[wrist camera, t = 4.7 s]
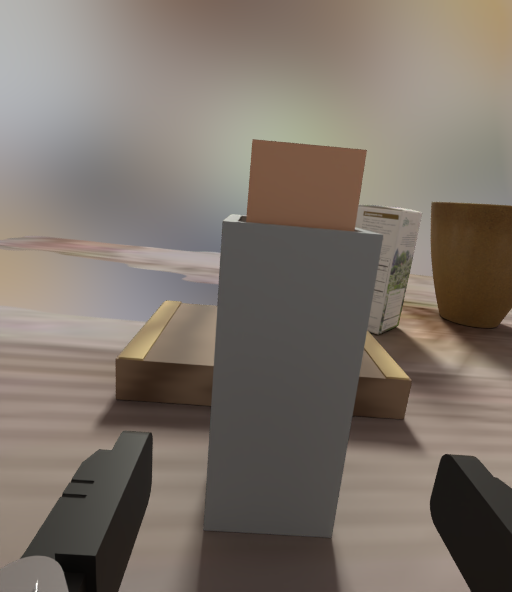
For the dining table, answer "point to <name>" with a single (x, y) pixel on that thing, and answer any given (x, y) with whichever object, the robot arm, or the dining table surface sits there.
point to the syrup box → (390, 260)
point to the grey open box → (285, 373)
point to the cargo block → (304, 185)
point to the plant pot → (472, 262)
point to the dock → (200, 363)
